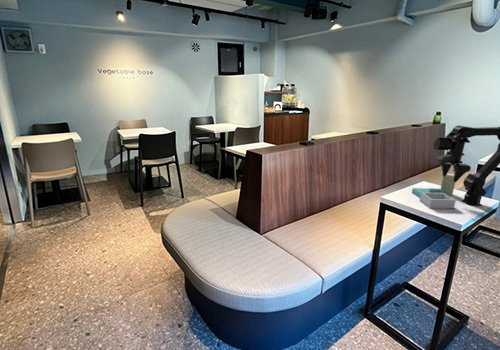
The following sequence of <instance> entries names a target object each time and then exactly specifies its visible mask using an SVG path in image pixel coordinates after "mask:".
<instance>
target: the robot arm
mask: <svg viewBox="0 0 500 350" xmlns="http://www.w3.org/2000/svg"><path fill="white" fill-rule="evenodd" d="M478 136H479V137H481V136H485V137H486V136H496V137H497V140H499V141H500V126H492V127H491V126H489V127H487V126H485V127H483V126H482V127H471V126H466V125H465V126H464V125H455V126H454V127H453V128H452V130H451V131H450V132H448V134H447V135H446V136H437V138H436V139H435V140H434V142H433V149H434V150H435V151H446V154H442V155H438V156H435V161H436V164H439V166H440V167H441V171H442V178H443V177H445V176H446V175H447V173H449V171H450V169H451V167H453V169H452V171H453V172H454V173H453V174H454V182H455V183H457V182H458V181H459V180H460V178H462V176H464V175H465V174H466V173H468V172H471V168H472V167H471V165H468V164H466V163H463V161H462V157H463V156H465V153H464V148H465V146H466V145H465V144H466V143H471V141H470V140H469V138H472V137H478ZM499 165H500V142H499V143H498V145H497V149H496V151H495V152H494V153H493V154H492V155H491V157H489V158H488V160H487V161H485V163H484V164H483V165H482V166H481V167H480V168H479V169H478V170H477V171H476V172H475V173H473V174H472V173H469V174H468V175H467V176H466V177H465V178H463V181H462V184H463V186H464V190H465V191H466V192H465V194H464V197H463V199H461V201H462V202H463V203H465V204H466V205H469V206H479V207H480V206H482V205H483V204H482V203H481V202H482V201H481V200H482V198H483V196H485V195H486V193H487V191H486V189H485V188H484V186H485V184H486V180H487V178H488V177H489V176H490V175H491V174H492V173H493V172H494V170H495V169H497V168H498V166H499Z"/></svg>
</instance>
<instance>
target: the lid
mask: <svg viewBox="0 0 500 350" xmlns="http://www.w3.org/2000/svg"><path fill="white" fill-rule="evenodd" d="M441 191H442V189H441V188H430V187H429V188H423V187H422V188H421V187H420V188H419V187H418V188H417V187H412V189H411V193H412V192H413V193H415V194H416V195H417V196H419V197H421V192H424V193H442V192H441ZM413 193H412V194H413ZM415 194H414V195H415ZM416 195H415V196H416ZM417 196H416V197H417ZM419 197H418V198H419Z"/></svg>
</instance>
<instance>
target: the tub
mask: <svg viewBox="0 0 500 350" xmlns="http://www.w3.org/2000/svg"><path fill="white" fill-rule="evenodd" d="M419 202H420V203H422V204H423V205H424V206H425V207H427V208H428V209H431V210H432V209H435V210H436V209H437V210H454V209H455V204H456V202H457V201H456V199H454V198H453V197H452V196H448V195H446V194H445V193H424V192H421V197H420V198H419Z"/></svg>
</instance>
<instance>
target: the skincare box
mask: <svg viewBox="0 0 500 350" xmlns="http://www.w3.org/2000/svg"><path fill="white" fill-rule="evenodd" d="M441 179H442V180H441V185H440V189H442V191H441V192H442V193H445V194H446V195H448V196H450V197H452V196H453V193H454V190H455V185H456V182H454V173H449V172H448V173H447V175H446V176H445V177H443V176H442V178H441Z"/></svg>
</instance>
